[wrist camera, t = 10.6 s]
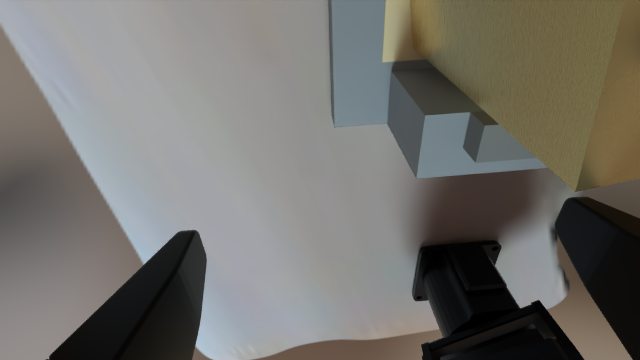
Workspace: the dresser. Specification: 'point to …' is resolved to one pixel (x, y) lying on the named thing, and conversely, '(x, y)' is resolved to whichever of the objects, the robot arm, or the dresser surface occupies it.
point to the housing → (546, 76)
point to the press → (411, 95)
